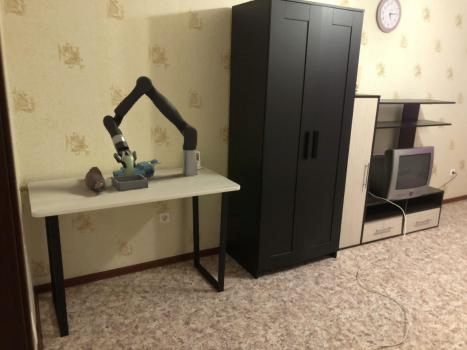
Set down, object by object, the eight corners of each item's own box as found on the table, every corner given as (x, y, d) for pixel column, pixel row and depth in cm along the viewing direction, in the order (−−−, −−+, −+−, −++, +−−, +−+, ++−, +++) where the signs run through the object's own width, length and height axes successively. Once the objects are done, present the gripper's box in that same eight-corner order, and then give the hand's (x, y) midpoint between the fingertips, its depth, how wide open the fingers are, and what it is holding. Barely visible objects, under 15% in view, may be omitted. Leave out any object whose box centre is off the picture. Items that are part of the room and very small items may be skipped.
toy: (109, 165, 245) (151, 155, 261) (111, 178, 248) (153, 167, 264) (120, 173, 227) (165, 161, 243) (123, 187, 230) (167, 174, 246)
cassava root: (88, 199, 202) (107, 197, 207) (87, 180, 199) (107, 179, 203) (81, 175, 236) (97, 174, 241) (80, 158, 233) (97, 158, 237)
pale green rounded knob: (132, 173, 224) (131, 155, 222) (134, 175, 220) (134, 157, 217) (123, 174, 222) (122, 156, 219) (126, 176, 217) (125, 157, 215)
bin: (140, 181, 233) (139, 174, 232) (148, 187, 221) (147, 179, 220) (112, 185, 224) (111, 177, 223) (118, 191, 212) (118, 183, 211)
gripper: (110, 141, 217) (120, 165, 211) (133, 139, 226) (143, 162, 220) (107, 148, 222) (117, 172, 216) (129, 146, 231) (139, 169, 226)
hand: (130, 167), depth 218 cm, fingers closed on pale green rounded knob, 5 cm apart
